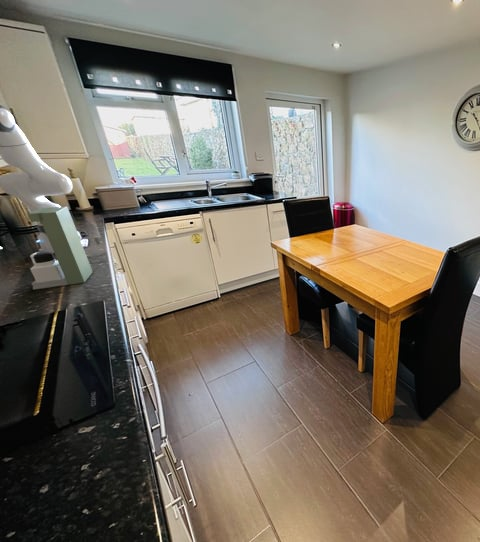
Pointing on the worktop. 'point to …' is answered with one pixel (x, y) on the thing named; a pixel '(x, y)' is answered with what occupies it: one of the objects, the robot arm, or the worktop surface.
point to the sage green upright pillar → (63, 246)
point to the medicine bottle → (46, 267)
